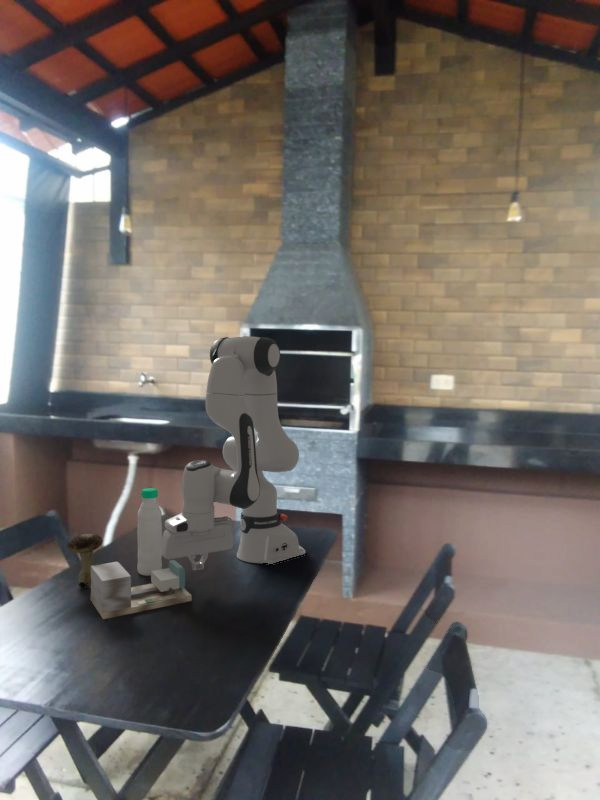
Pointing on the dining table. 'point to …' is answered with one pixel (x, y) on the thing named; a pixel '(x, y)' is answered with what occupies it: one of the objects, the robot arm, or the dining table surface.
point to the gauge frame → (127, 592)
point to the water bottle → (149, 533)
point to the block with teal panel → (169, 577)
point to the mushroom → (85, 555)
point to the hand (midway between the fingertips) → (197, 569)
